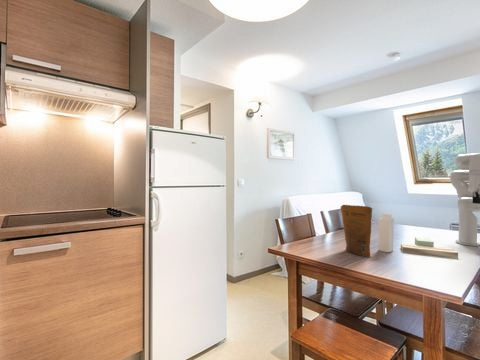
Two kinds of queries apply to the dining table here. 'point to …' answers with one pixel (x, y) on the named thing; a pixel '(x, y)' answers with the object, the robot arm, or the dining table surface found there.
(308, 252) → the dining table surface
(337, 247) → the dining table surface
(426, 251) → the board
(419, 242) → the block
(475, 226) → the robot arm
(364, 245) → the pancake mix bag
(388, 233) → the milk
